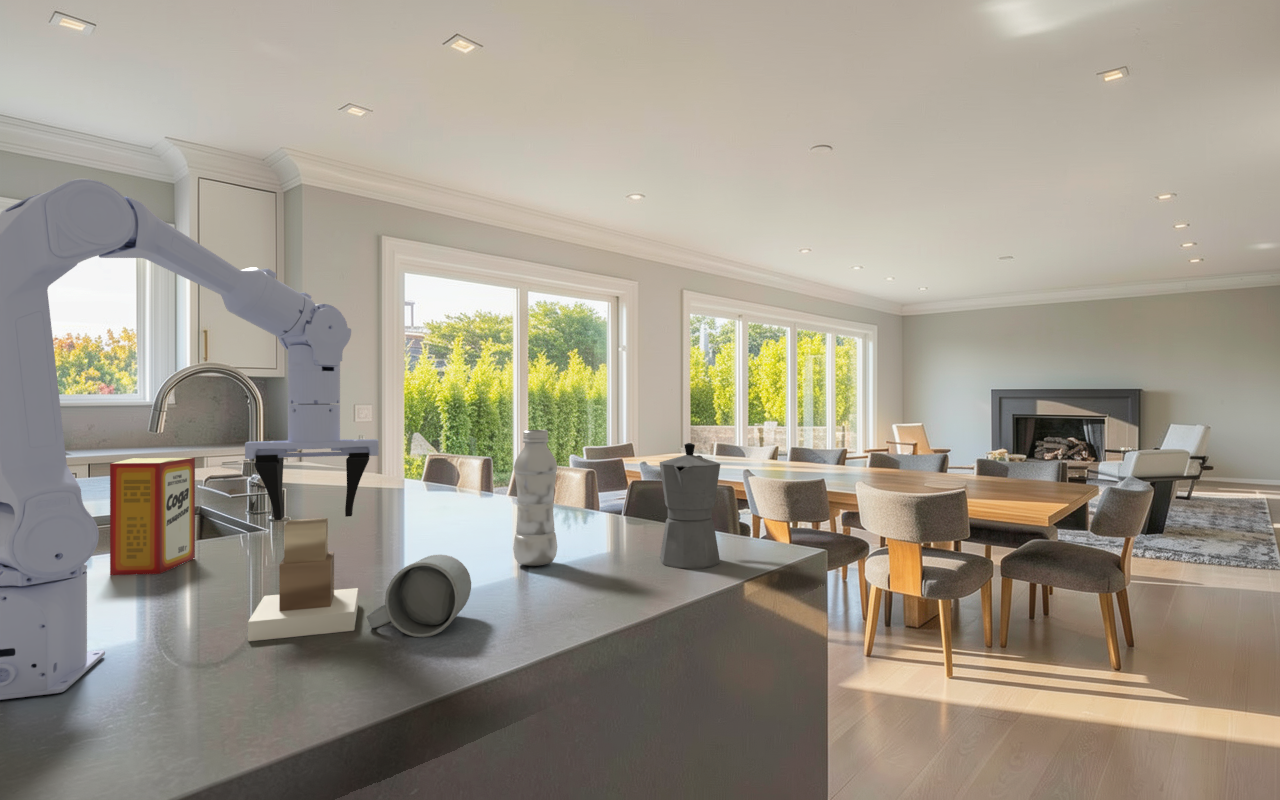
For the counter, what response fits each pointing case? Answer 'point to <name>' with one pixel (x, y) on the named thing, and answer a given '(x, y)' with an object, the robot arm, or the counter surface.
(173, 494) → the baking soda box
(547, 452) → the plastic bottle
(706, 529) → the coffeepot
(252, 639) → the base
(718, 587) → the counter surface
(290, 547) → the maple block
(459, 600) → the ceramic mug
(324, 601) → the walnut block
